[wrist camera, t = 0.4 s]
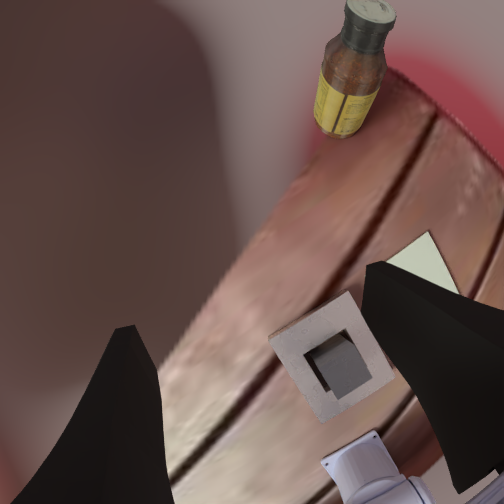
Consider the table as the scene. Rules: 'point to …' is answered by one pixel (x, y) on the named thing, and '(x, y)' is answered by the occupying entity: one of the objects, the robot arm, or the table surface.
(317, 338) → the socket block
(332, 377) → the peg
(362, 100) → the sauce bottle
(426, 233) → the pad
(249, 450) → the table surface
